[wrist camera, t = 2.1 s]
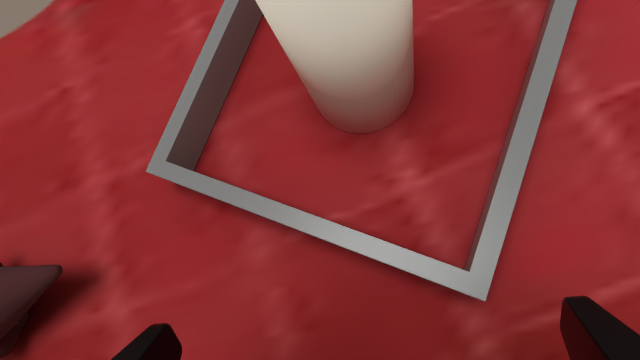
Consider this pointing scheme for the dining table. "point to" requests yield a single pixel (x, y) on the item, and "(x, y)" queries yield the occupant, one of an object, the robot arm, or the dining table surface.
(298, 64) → the white pillar candle
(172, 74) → the dining table surface
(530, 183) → the dining table surface
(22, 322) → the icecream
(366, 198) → the dining table surface
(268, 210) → the frame
